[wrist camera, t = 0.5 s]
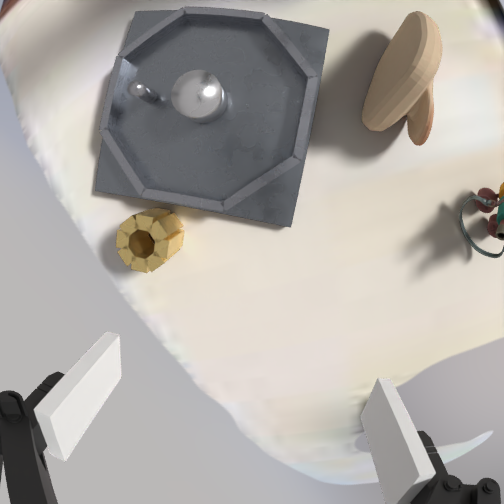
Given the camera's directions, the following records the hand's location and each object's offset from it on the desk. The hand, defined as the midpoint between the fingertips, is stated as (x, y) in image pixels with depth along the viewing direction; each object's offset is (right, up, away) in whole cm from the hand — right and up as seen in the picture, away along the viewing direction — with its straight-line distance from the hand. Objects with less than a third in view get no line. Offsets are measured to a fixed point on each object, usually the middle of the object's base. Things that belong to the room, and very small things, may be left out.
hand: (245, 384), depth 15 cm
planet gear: (-11, +9, +23) cm, 27 cm away
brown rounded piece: (+18, +27, +17) cm, 36 cm away
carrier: (-5, +23, +19) cm, 30 cm away
